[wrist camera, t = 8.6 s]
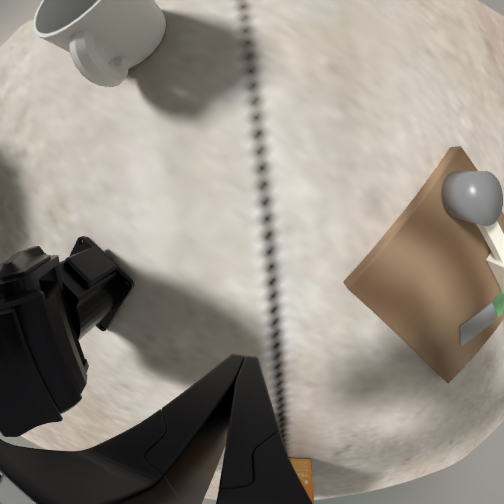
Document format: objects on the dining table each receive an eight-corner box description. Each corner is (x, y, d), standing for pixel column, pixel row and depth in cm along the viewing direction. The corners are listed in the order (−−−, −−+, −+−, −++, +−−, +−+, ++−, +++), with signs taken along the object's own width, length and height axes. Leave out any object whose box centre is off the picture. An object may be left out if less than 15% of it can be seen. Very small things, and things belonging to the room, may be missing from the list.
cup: (166, -2, 16) (127, -59, 7) (173, 85, 18) (118, 35, 9) (96, 26, 16) (42, -12, 8) (95, 113, 18) (21, 92, 10)
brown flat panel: (441, 375, 22) (448, 384, 21) (343, 282, 20) (348, 290, 19) (522, 272, 19) (531, 277, 17) (450, 147, 17) (461, 145, 16)
